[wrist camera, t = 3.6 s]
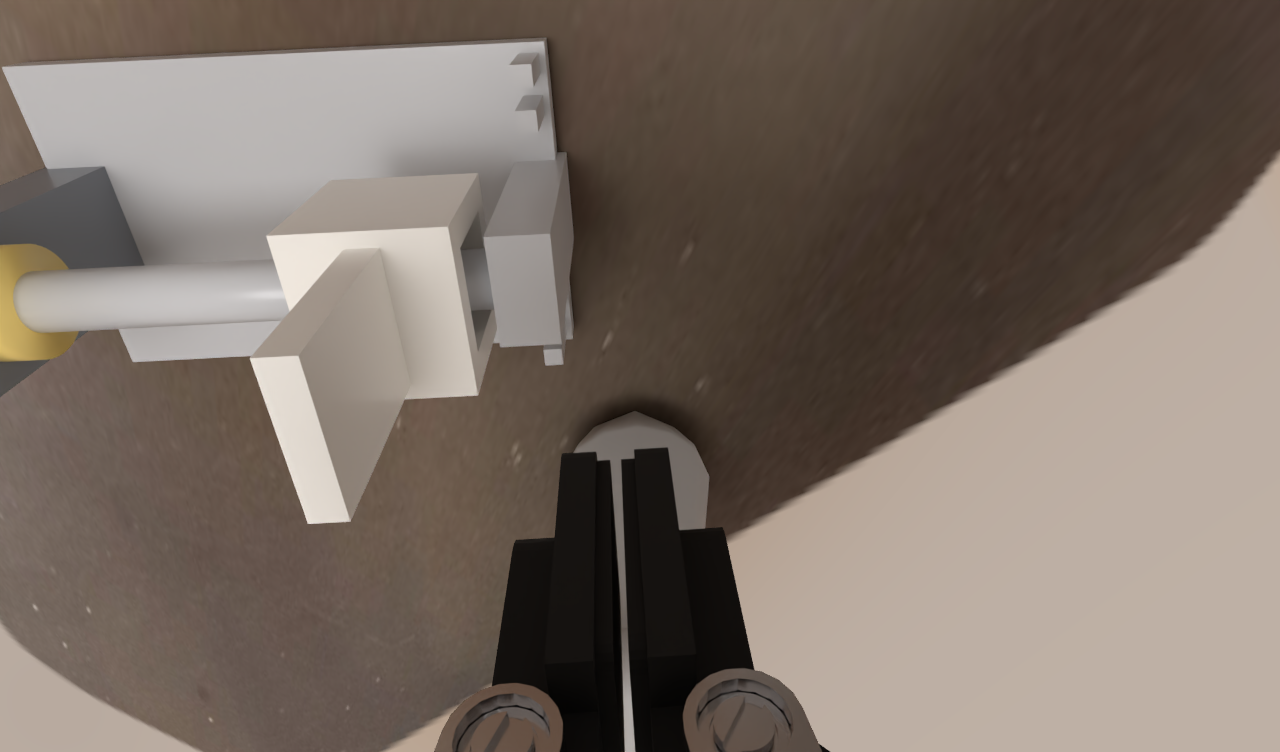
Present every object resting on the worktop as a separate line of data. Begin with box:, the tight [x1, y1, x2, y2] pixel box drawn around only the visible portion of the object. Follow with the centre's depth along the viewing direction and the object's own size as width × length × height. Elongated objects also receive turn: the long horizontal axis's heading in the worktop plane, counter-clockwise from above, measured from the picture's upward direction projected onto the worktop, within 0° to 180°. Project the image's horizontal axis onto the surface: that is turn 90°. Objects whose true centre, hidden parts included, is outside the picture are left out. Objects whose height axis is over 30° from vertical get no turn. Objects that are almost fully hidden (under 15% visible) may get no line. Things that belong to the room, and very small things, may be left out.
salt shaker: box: [573, 411, 709, 752], centre depth 25 cm, size 6×6×13 cm
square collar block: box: [250, 173, 497, 524], centre depth 17 cm, size 4×4×9 cm
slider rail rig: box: [0, 38, 574, 397], centre depth 21 cm, size 16×10×9 cm, turn 92°
